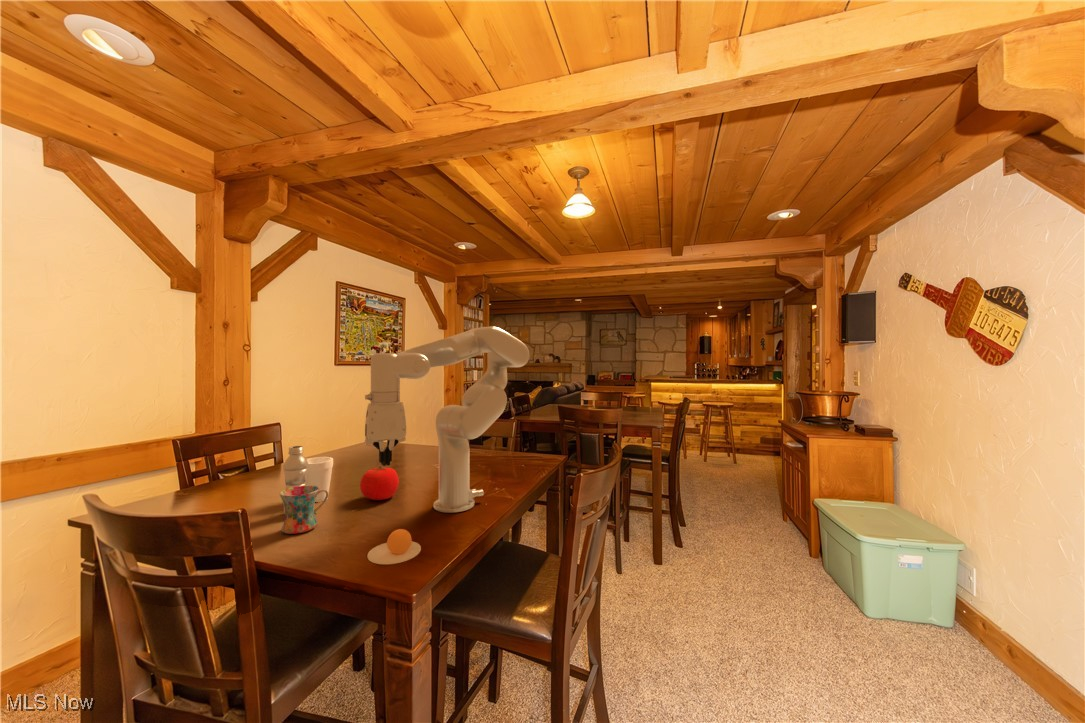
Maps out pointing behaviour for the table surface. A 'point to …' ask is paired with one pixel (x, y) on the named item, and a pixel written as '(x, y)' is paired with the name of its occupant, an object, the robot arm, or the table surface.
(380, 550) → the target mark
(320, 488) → the foam cup
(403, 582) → the table surface
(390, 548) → the ball
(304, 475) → the plastic bottle
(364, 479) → the tomato
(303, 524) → the mug
